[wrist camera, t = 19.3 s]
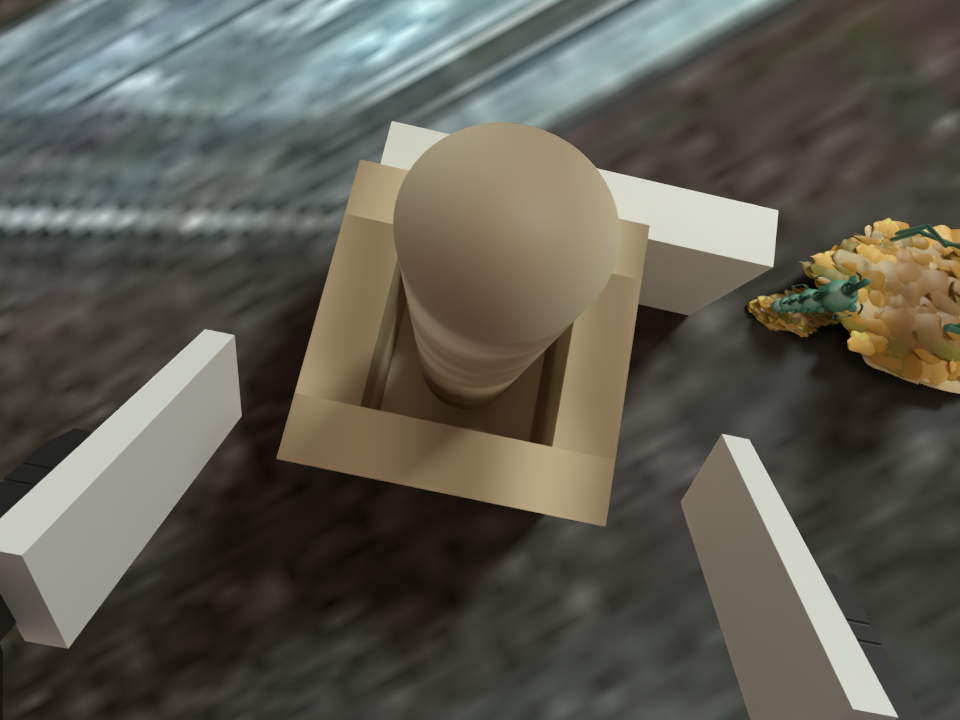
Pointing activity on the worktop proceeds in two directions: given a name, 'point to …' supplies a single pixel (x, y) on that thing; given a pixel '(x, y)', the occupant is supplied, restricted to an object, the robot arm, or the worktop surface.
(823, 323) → the green yellow irregular piece
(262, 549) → the worktop surface
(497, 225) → the dowel
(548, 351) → the block
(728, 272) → the backstop
